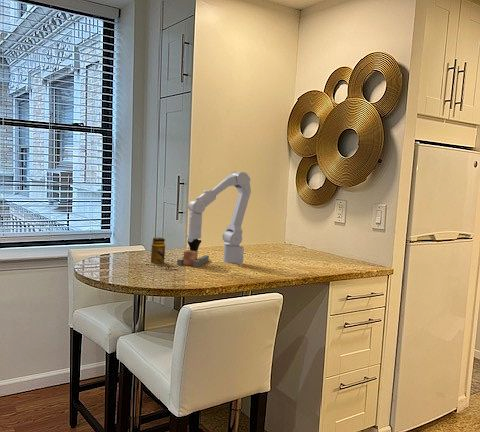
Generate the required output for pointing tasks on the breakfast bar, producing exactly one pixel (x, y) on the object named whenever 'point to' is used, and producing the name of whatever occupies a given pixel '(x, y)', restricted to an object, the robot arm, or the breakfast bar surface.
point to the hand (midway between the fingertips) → (193, 255)
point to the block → (189, 257)
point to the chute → (196, 262)
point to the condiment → (158, 251)
